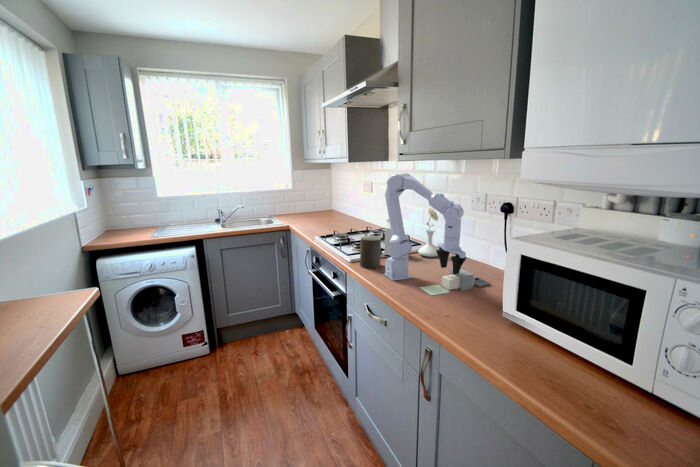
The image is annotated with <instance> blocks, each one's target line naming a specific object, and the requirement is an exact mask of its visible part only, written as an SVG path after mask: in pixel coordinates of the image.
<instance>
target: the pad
mask: <svg viewBox="0 0 700 467" xmlns="http://www.w3.org/2000/svg"><path fill="white" fill-rule="evenodd" d="M419 289H421V290H422V291H424V292H425V293H426V294H428V295H429V296H431V297H432V296H438V295H444V294H449V293H451V291H450V290H448V289H446V288H445V287H443V286H442V285H440V284H434V285H433V284H432V285H426V286H420V287H419Z"/></svg>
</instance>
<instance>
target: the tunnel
mask: <svg viewBox="0 0 700 467" xmlns="http://www.w3.org/2000/svg"><path fill="white" fill-rule="evenodd" d="M449 270H450V271H449V272H450V273H449V275H455V274H453V268H451V269H449ZM456 275H457V276H459V277H461V285H460V288H459V290H461V291H467V290H473V288H474V286H473V279H474V276H475V274H473V273H472V272H470V271H468V270H465V269H463V268H462V267H461V268H460V271H459V274H456Z"/></svg>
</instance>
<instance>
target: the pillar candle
mask: <svg viewBox="0 0 700 467" xmlns="http://www.w3.org/2000/svg"><path fill="white" fill-rule="evenodd" d="M381 247H382V238H381V237H380V236H378V235H377V236H376V235H363V236H361V237H360V251H359V252H360V253H359V254H360V256H359V259H360V260H359V263H360V264H359V265H360V267H361V268H364V269H370V270H372V269H378V268H380V267H381V254H382V252H381V250H382V248H381Z"/></svg>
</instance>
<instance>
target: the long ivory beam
mask: <svg viewBox="0 0 700 467" xmlns="http://www.w3.org/2000/svg"><path fill="white" fill-rule="evenodd" d="M475 277H476V276H475V275H474V278H475ZM460 285H461V277H459V276H457V275H456V274H455V275H450V274H449V275H443V276H442V277H441V287H443V288H445V289H446V290H448V291H450V290H456V289H460ZM473 287H475V286H474V279H473Z"/></svg>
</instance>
